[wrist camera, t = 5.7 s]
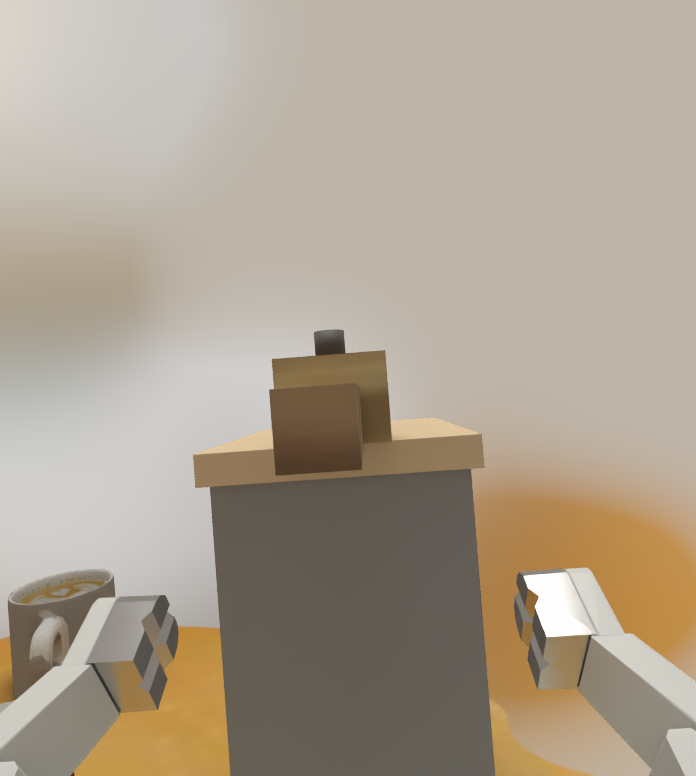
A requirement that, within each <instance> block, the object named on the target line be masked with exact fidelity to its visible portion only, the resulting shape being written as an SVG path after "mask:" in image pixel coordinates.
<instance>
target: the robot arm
mask: <svg viewBox="0 0 696 776" xmlns="http://www.w3.org/2000/svg"><path fill="white" fill-rule="evenodd" d="M517 586H518V589H519V593H518V594H517V595H516V596H515V603H514V609H515V619H516V623H517V627H518V631H519V635H520V638H521V640H522V641H523V642H524V643H525V644H526V645H527V646H528V647H529V652H528V662H529V665H530V668H531V671H532V674H533V677H534V680H535V683H536V686H537V689H538V690H546V689H578V691H579V692H580V693H581V694H582V696H583V697H584V698H585V699H586V700H587V701H588V702H589V703H590V704H591V705H592V706H593V707H594V708H595V709H596V710H597V711H598V713H599V714H600V715H601V716H602V717H603V718H604V719H605V720H606V721H607V722H608V723H609V724H610V725H611V726H612V728H613V729H614V730H615V731H616V732H617V733H618V734H619V735H620V736H621V737H622V738H623V739H624V740H625V741H626V742H627V743H628V745H629V746H630V747H631V748H632V749H633V750H634V751H635V752H636V753H637V754H638V755H639V756H640V757H641V758H642V759H643V760H644V762H646V764H647V765H648V766H649V767H650V768H651V769H652V770H651V772H650V775H649V776H696V682H695V681H694V680H693V679H691V678H690V677H689V676H688V675H686V674H685V673H684V672H682V671H681V670H679V669H678V668H677V667H676V666H674V665H673V664H672V663H670V662H669V661H668V660H666V659H665V658H664V657H662V656H661V655H660V654H658V653H657V652H656V651H654V650H653V649H652V648H650V647H649V646H648V645H646V644H645V643H644V642H643V641H641V640H640V639H638V638H637V637H636V636H635V635H633V634H625V633H624V631H623V629H622V627H621V626H620V624H619V622H618V620H617V618H616V616H615V614H614V612H613V611H612V609H611V607H610V605H609V603H608V601H607V600H606V598H605V596H604V594H603V592H602V590H601V588H600V587H599V584H598V583H597V581H596V579H595V577H594V575H593V573H592V572H591V571H590V570H589V569H588V568H574V569H552V570H539V571H526V572H519V574H518V575H517ZM168 607H169V602H168V600H167V598H166V596H165V595H160V596H131V597H108V598H99V599H98V600H96V601H95V602H94V603H93V605H92V606H91V608H90V610H89V612H88V614H87V616H86V618H85V620H84V622H83V624H82V626H81V628H80V630H79V632H78V634H77V635H76V637H75V639H74V641H73V643H72V645H71V647H70V649H69V651H68V653H67V655H66V657H65V659H64V661H63V663H62V665H61V666H55V667H53V668H52V669H51V670H50V671H49V672H47V673H46V674H45V675H44V676H43V677H42V678H41V679H39V680H38V681H37V682H36V683H35V684H34V685H32V686H31V687H30V688H29V689H28V690H27V691H26V692H24V693H23V694H22V695H21V696H20V697H19V698H17V699H16V700H15V701H14V702H13V703H12V704H11V705H9V706H8V707H7V708H6V709H5V710H4V711H2V712H1V713H0V776H71V775H72V773H73V772H74V771H75V770H76V768H77V767H78V766H79V765H80V764H81V762H82V761H83V760H84V759H85V758H86V756H87V755H88V754H89V753H90V751H91V750H92V749H93V748H94V747H95V745H96V744H97V743H98V742H99V741H100V739H101V738H102V737H103V736H104V734H105V733H106V732H107V731H108V730H109V728H110V727H111V726H112V725H113V723H114V722H115V721H116V720H117V719H118V717H119V716H120V714H119V713H126V712H138V711H150V710H158V707H159V704H160V701H161V698H162V694H163V691H164V688H165V685H166V682H167V677H166V675H165V672H164V669H165V668H166V667H167V666H168V665H169V664H170V663H171V662H172V661H173V660H174V656H175V653H176V649H177V643H178V626H177V622H176V620H175V617H174V616H172V615H170V614H169V613H167V610H168Z"/></svg>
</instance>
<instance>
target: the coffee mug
mask: <svg viewBox="0 0 696 776" xmlns="http://www.w3.org/2000/svg"><path fill="white" fill-rule="evenodd" d="M108 597H115V587H114V576H113V574H112V572H110V571H108V570H103V569H86V570H77V571H70V572H65V573H61V574H56V575H53V576H49V577H45V578H42V579H39V580H36V581H33V582H31V583H28V584H26V585H24V586H22V587H20V588H18V589H17V590H15V591H14V592H13V593H11V594H10V596H9V597H8V612H9V627H10V643H11V658H12V673H13V688H14V699H15V700H16V699H17V698H19V697H20V696H21V695H22V694H23V693H24V692H26V691H27V690H28V689H29V688H30V687H31V686H32V685H34V684H35V683H36V682H37V681H38V680H39V679H41V678H42V677H43V676H44V675H45V674H46V673H47V672H49V671H50V670H51V669H52V668H53V667H55V666H61V665H62V663H63V661H64V659H65V657H66V655H67V653H68V651H69V649H70V647H71V645H72V643H73V641H74V639H75V637H76V635H77V634H78V632H79V630H80V628H81V626H82V624H83V622H84V620H85V618H86V616H87V614H88V612H89V610H90V608H91V606H92V605H93V603H94V602H95V601H96V600H98V599H99V598H108Z"/></svg>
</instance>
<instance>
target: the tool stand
mask: <svg viewBox="0 0 696 776" xmlns="http://www.w3.org/2000/svg"><path fill="white" fill-rule="evenodd" d="M391 434H392V442H379V443H365V444H363V459H362V470H352V471H338V472H323V473H309V474H295V475H280V476H276V475H275V461H274V448H273V434H272V430H262V431H259V432H257V433H254V434H251V435H248V436H245V437H242V438H239V439H237V440H234V441H231V442H228V443H225V444H222V445H219V446H217V447H214V448H211V449H208V450H205V451H202V452H200V453H197V454H194V455H193V460H194V472H195V473H194V474H195V487H196V488H201V487H210V493H211V507H212V522H213V536H214V550H215V563H216V578H217V592H218V604H219V605H218V606H219V619H220V634H221V648H222V662H223V676H224V690H225V704H226V717H227V731H228V745H229V759H230V773H231V776H495V768H494V756H493V743H492V730H491V718H490V705H489V693H488V680H487V667H486V654H485V642H484V630H483V617H482V604H481V591H480V578H479V567H478V554H477V541H476V528H475V515H474V502H473V491H472V477H471V469H474V468H484V457H483V445H482V434H480V433H477V432H474V431H472V430H469V429H466V428H463V427H460V426H457V425H455V424H452V423H449V422H446V421H443V420H440V419H437V418H425V419H411V420H397V421H391Z"/></svg>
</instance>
